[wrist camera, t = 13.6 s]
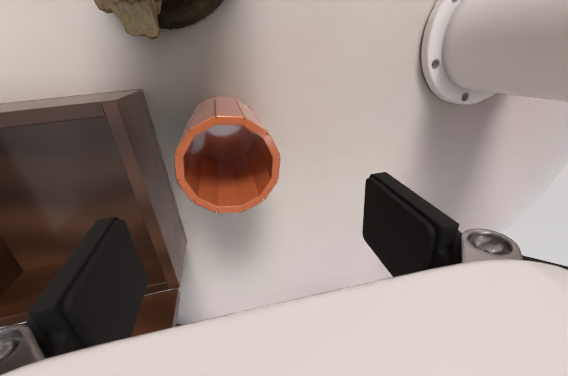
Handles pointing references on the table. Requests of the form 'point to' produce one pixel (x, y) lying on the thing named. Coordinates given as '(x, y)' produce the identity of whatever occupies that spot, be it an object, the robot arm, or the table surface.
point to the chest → (80, 191)
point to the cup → (226, 157)
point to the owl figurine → (157, 14)
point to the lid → (157, 312)
